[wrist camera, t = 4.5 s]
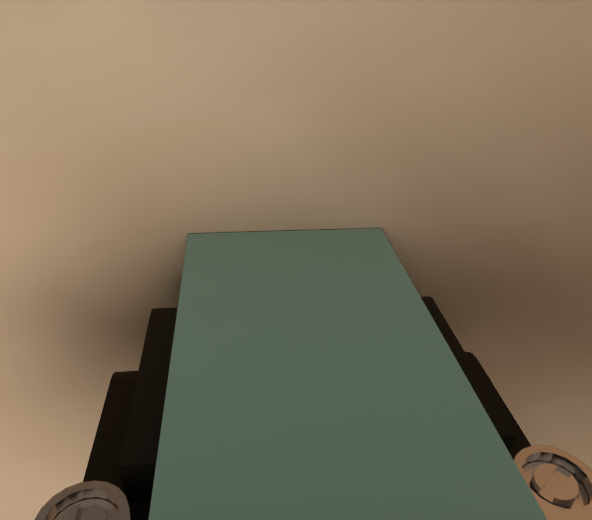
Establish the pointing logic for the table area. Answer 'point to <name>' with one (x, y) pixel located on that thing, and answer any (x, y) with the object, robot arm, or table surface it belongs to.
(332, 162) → the table surface
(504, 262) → the table surface
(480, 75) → the table surface
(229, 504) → the block
